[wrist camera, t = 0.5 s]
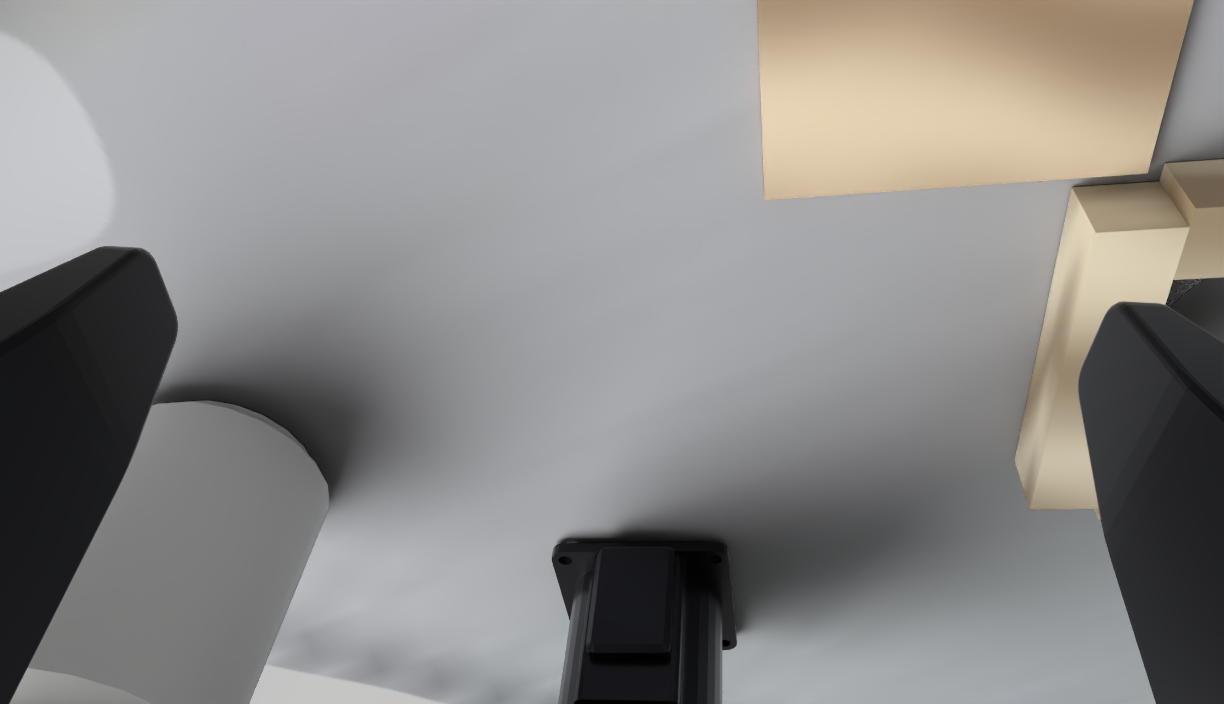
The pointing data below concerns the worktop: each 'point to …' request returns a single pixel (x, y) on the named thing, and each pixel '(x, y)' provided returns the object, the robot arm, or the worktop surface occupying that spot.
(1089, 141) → the wooden panel
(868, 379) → the worktop surface
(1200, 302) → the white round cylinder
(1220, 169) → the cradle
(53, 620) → the can
